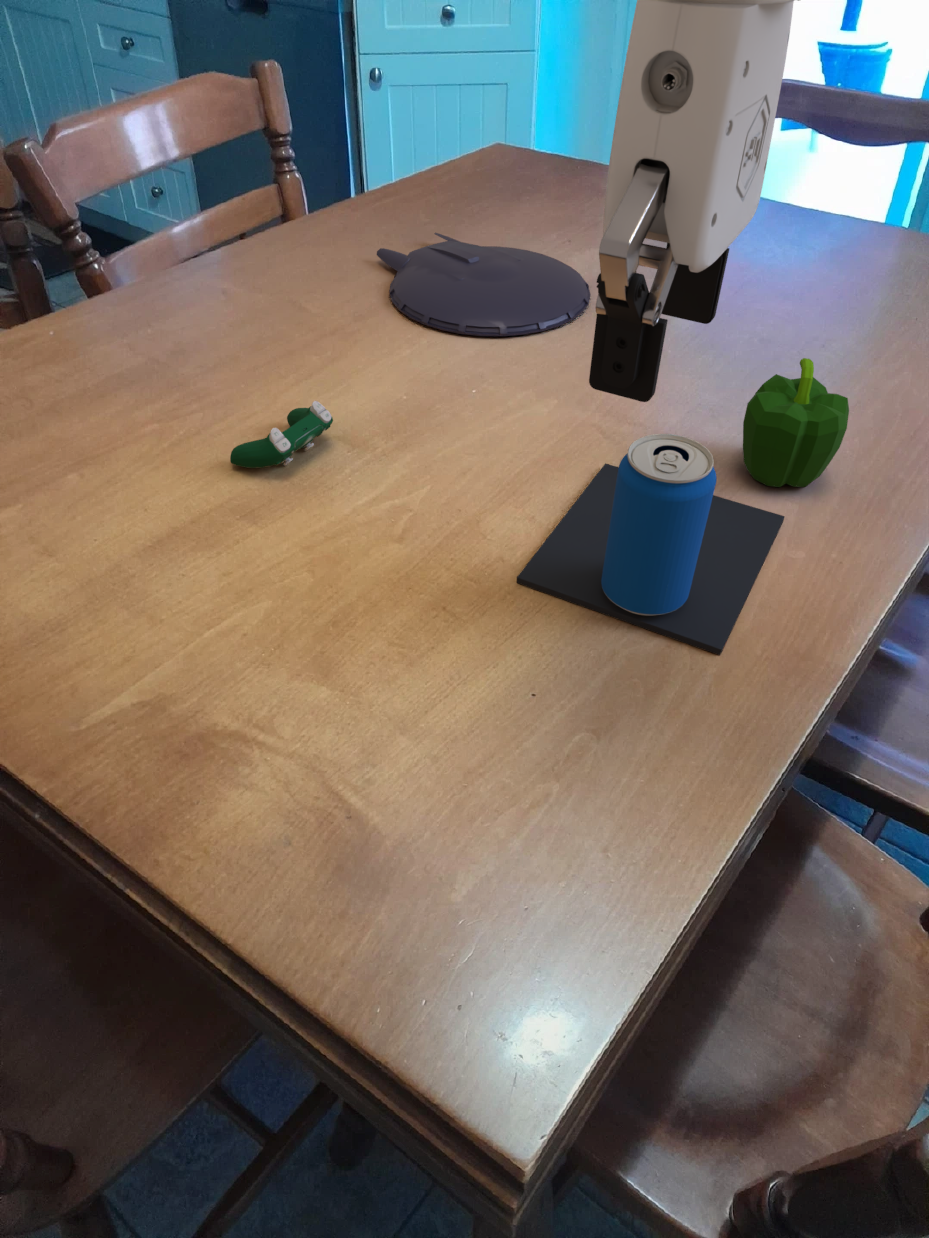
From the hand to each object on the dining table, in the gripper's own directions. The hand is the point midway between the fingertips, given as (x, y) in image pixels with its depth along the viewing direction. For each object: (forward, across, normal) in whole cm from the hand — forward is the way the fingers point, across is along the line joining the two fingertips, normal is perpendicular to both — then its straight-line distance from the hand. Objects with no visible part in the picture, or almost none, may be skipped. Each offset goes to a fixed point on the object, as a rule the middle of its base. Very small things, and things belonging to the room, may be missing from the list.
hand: (654, 352), depth 47 cm
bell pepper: (+23, +30, -5) cm, 38 cm away
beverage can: (+23, +8, 0) cm, 24 cm away
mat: (+23, +14, +1) cm, 27 cm away
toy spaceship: (+23, +52, +37) cm, 68 cm away
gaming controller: (+23, +11, +35) cm, 43 cm away
